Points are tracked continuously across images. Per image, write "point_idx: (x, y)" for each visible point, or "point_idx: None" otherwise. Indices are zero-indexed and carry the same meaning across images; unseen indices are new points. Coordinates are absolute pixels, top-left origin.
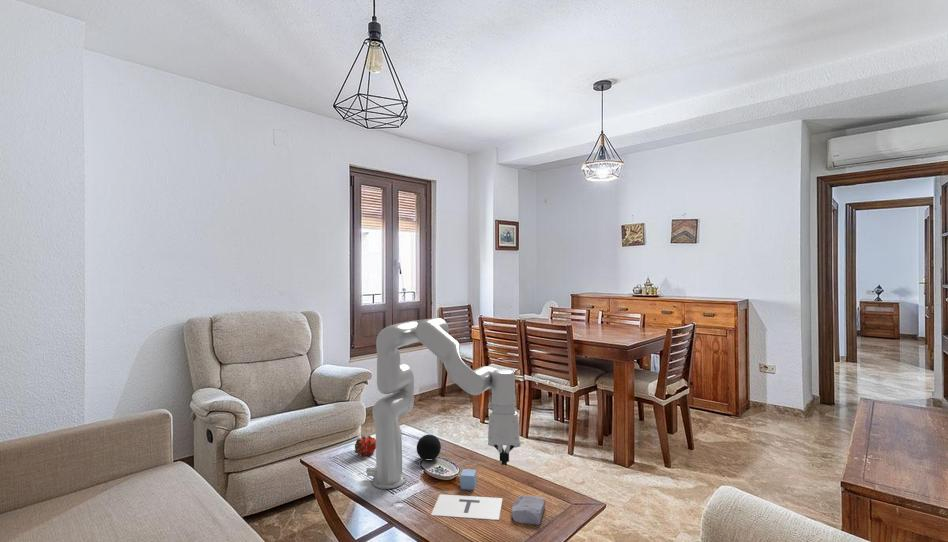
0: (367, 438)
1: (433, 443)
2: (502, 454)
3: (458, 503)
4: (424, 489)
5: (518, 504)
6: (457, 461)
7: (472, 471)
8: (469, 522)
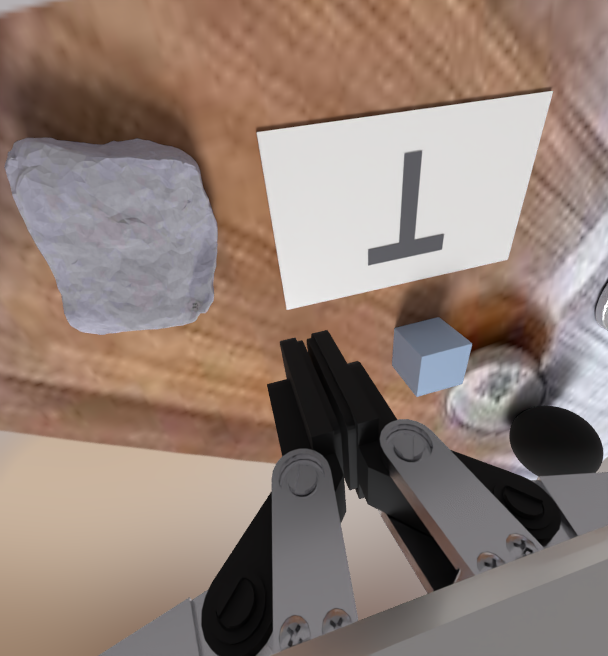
0: None
1: (563, 454)
2: (359, 410)
3: (444, 219)
4: (550, 274)
5: (190, 252)
6: (452, 436)
7: (429, 382)
8: (388, 70)
